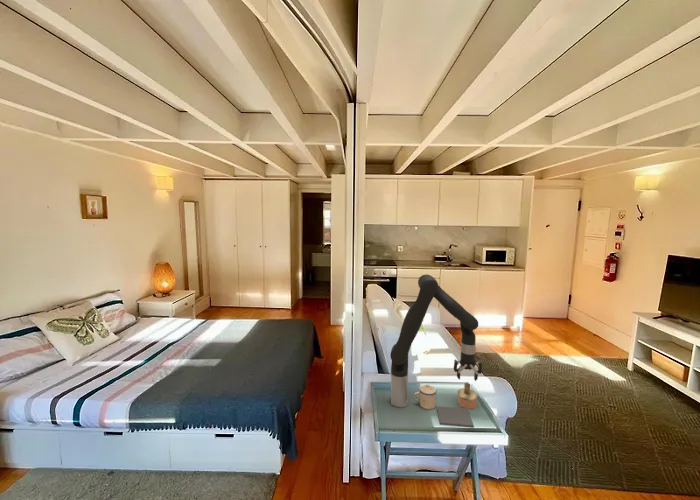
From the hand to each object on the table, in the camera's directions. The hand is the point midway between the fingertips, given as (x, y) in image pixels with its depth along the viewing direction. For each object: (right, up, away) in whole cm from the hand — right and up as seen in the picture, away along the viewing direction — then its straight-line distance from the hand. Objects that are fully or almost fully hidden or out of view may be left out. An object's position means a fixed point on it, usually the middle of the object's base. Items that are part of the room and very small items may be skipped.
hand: (467, 379), depth 169 cm
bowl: (0, -14, +1) cm, 14 cm away
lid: (0, -9, 0) cm, 9 cm away
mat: (-11, -15, -10) cm, 21 cm away
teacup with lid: (-23, -15, +1) cm, 27 cm away
